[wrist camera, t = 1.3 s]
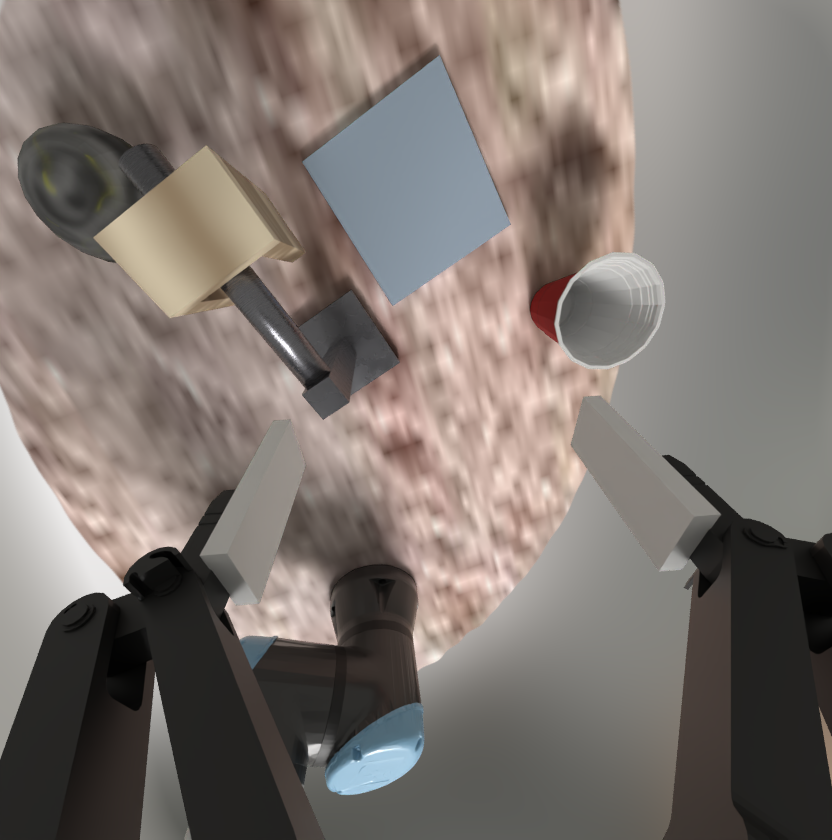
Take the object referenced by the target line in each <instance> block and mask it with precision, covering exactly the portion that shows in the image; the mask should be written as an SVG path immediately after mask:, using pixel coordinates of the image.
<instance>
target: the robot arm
mask: <svg viewBox="0 0 832 840" xmlns="http://www.w3.org/2000/svg"><path fill="white" fill-rule="evenodd" d="M571 446H572V448H573V449H574V450H575V452H576V453H577V455H578V456H579V458H580V459H581V460H582V462H583V463H584V465H585V466H586V468H587V469H588V470H589V472H590V473H591V475H592V476H593V478H594V479H595V481H596V482H597V483H598V485H599V486H600V488H601V489H602V491H603V492H604V493H605V495H606V496H607V498H608V499H609V501H610V502H611V503H612V505H613V506H614V508H615V509H616V511H617V512H618V513H619V515H620V516H621V518H622V519H623V521H624V522H625V524H626V525H627V526H628V528H629V529H630V531H631V532H632V533H633V535H634V536H635V538H636V539H637V541H638V542H639V544H640V545H641V547H642V548H643V549H644V551H645V552H646V554H647V555H648V556H649V558H650V559H651V561H652V562H653V564H654V565H655V566H656V568H657V569H658V571H668V570H669V571H670V570H682V569H683V567H684V566H685V564H686V563H687V562H688V560H689V559H691V560H692V562H693V563H694V564H695V565H696V567H697V569H696V571H695V572H694V573H693V575H692V576H691V578H690V579H689V580H688V581H687V583H686V585H685V587H684V588H685V589H689V588H690V587H691V585H693V587H692V598H691V609H690V620H689V621H690V622H689V631H688V642H687V653H686V664H685V676H684V686H683V697H682V707H681V719H680V729H679V740H678V750H677V761H676V773H675V783H674V794H673V805H672V814H671V820H670V824H669V828H668V830H667V832H666V834H665V836H664V838H663V840H832V786H831V779H830V773H829V766H828V761H827V755H826V748H825V742H824V736H823V730H822V724H821V718H820V712H819V707H820V710H821V712H822V715H823V717H824V719H825V722H826V724H827V726H828V729H829V731H830V733H831V736H832V533H830V534H825V535H824V536H823V537H822V538H821V539H820V540H819V541H818V542H817V543H813V542H807V541H801V540H796V539H790V538H785V537H784V536H783V535H782V534H781V533H780V532H778V531H777V530H775V529H774V528H772V527H771V526H769V525H766V524H764V523H761V522H760V521H756V520H752V519H743V518H742V517H741V516H740V515H739V514H738V513H736V511H735V510H734V509H732V508H731V507H730V506H729V505H728V504H727V503H726V502H725V501H724V500H723V499H722V498H721V497H719V496H718V495H717V494H716V493H715V492H714V491H713V490H712V489H711V488H710V487H709V486H708V485H705V482H704V481H702V480H701V479H700V478H699V477H696V474H695V473H694V472H693V471H692V470H690V468H688V467H687V466H686V465H685V464H684V463H682V462H681V461H679V460H677V459H675V458H674V457H672V456H670V455H664V456H663V455H662V456H661V455H660V454H659V453H658V452H657V451H656V450H655V449H654V448H653V447H652V446H651V445H650V444H649V443H648V442H647V441H646V440H645V439H644V438H643V437H642V436H641V435H640V434H639V433H638V432H637V431H636V430H635V429H634V428H633V427H632V426H631V425H630V424H629V423H628V422H627V421H626V420H625V419H624V418H623V417H622V416H620V414H619V413H618V412H617V411H615V409H613V408H612V407H611V406H610V405H609V404H608V403H607V402H606V401H605V400H604V399H603V398H602V397H601V396H588V397H583V400H582V404H581V408H580V411H579V415H578V419H577V423H576V426H575V430H574V434H573V438H572V441H571ZM305 467H306V464H305V461H304V458H303V455H302V452H301V449H300V446H299V443H298V440H297V437H296V434H295V431H294V428H293V425H292V422H291V419H289V420H276V421H273V422H272V424H271V426H270V428H269V430H268V431H267V433H266V435H265V437H264V439H263V441H262V442H261V444H260V446H259V448H258V450H257V452H256V453H255V455H254V457H253V459H252V461H251V462H250V464H249V466H248V468H247V470H246V472H245V473H244V475H243V477H242V479H241V481H240V483H239V484H238V486H237V488H236V490H226V491H223V492H222V493H221V494H220V495H219V496H217V497H216V498H215V499H214V500H213V501H212V502H211V504H210V506H209V507H208V509H207V511H206V512H205V516H203V517H202V519H201V521H200V522H199V526H197V527H196V529H195V531H194V532H193V534H192V536H191V537H190V539H189V540H188V542H187V544H186V545H185V547H184V549H183V550H182V552H181V553H180V552H179V551H178V550H177V549H176V548H173V547H163V548H158V549H156V550H154V551H151V552H149V553H147V554H146V555H144V556H143V557H141V558H140V559H138V560H137V561H136V562H135V563H134V564H133V565H132V566H131V567H130V568H129V570H128V572H127V573H126V575H125V577H124V583H123V586H125V587H126V588H127V589H128V590H129V591H130V592H131V593H130V594H127V595H125V596H122V597H119V598H116V599H113V600H111V599H110V598H109V597H108V596H106V595H105V594H104V593H93V594H89V595H86V596H83V597H81V598H80V599H78V600H76V601H74V602H72V603H71V604H70V605H68V606H67V607H66V608H65V609H63V610H62V611H61V612H60V613H59V614H58V615H57V616H56V617H55V618H54V620H53V621H52V622H51V624H50V626H49V627H48V629H47V631H46V633H45V637H44V639H43V642H42V645H41V648H40V650H39V653H38V656H37V659H36V661H35V664H34V667H33V670H32V673H31V675H30V678H29V681H28V684H27V687H26V689H25V692H24V695H23V698H22V701H21V703H20V706H19V709H18V712H17V714H16V718H15V720H14V723H13V725H12V728H11V731H10V734H9V737H8V739H7V742H6V745H5V748H4V751H3V753H2V756H1V759H0V840H140V830H141V819H142V808H143V796H144V787H145V776H146V765H147V754H148V743H149V732H150V721H151V711H152V710H151V709H152V699H153V689H154V678H155V672H156V677H157V682H158V686H159V691H160V695H161V700H162V705H163V709H164V714H165V719H166V723H167V728H168V733H169V737H170V742H171V746H172V751H173V756H174V761H175V765H176V770H177V774H178V779H179V784H180V788H181V793H182V798H183V802H184V807H185V811H186V816H187V821H188V829H187V832H186V835H185V839H184V840H325V838H324V835H323V833H322V831H321V828H320V826H319V824H318V821H317V819H316V817H315V815H314V812H313V810H312V807H311V805H310V803H309V800H308V798H307V796H306V794H305V791H304V789H303V787H304V781H305V774H306V769H307V767H325V768H326V769H325V778H326V782H327V786H328V788H329V789H330V790H331V791H332V792H337V793H338V794H343V795H352V794H359V793H364V792H368V791H371V790H375V789H377V788H380V787H382V786H385V785H387V784H389V783H391V782H393V781H394V780H396V779H398V778H400V777H401V776H402V775H404V774H405V773H406V772H408V771H409V770H410V769H411V768H412V767H413V766H414V765H415V763H416V762H417V761H418V759H419V757H420V756H421V753H422V750H423V746H424V729H423V728H424V727H423V706H422V704H421V697H420V690H419V682H418V674H417V666H416V658H415V651H414V643H413V630H414V624H415V619H416V612H417V608H418V594H417V588H416V584H415V582H414V580H413V579H412V578H411V577H410V576H409V575H408V574H407V573H406V572H404V571H402V570H400V569H398V568H395V567H392V566H386V565H372V566H366V567H362V568H359V569H356V570H354V571H352V572H350V573H348V574H347V575H345V576H344V577H343V578H341V579H340V580H339V582H338V583H337V584H336V585H335V587H334V589H333V591H332V595H331V604H330V614H331V618H332V622H333V626H334V630H335V634H336V638H337V643H338V646H335V645H329V644H321V643H313V642H306V641H298V640H290V639H283V638H278V636H273V637H263V636H246V637H244V638H242V639H240V640H239V638H238V636H237V634H236V631H235V629H234V627H233V624H232V622H231V620H230V617H229V615H228V613H227V611H226V610H225V609H224V608H225V606H226V604H227V601H228V599H229V596H230V598H231V599H232V600H233V602H234V603H235V604H236V605H247V604H259V603H260V601H261V598H262V595H263V592H264V589H265V586H266V583H267V580H268V577H269V574H270V571H271V568H272V565H273V562H274V559H275V556H276V553H277V550H278V547H279V544H280V541H281V538H282V535H283V532H284V529H285V527H286V524H287V521H288V518H289V515H290V512H291V509H292V506H293V503H294V500H295V497H296V494H297V491H298V488H299V485H300V482H301V479H302V476H303V473H304V470H305Z"/></svg>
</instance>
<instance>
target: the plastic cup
mask: <svg viewBox="0 0 832 840" xmlns="http://www.w3.org/2000/svg"><path fill="white" fill-rule="evenodd" d="M664 308H665V293H664V282H663V280H662V278H661V277H660V275H659V273H658V272H657V270H656V268H655V267H654V265H653V263H651V262H649V261H647V260H646V259H644V258H642V257H640V256H639V255H637V254H636V253H619V252H612V253H610V254H607V255H605V256H602V257H600V258H597V259H595V260H592V261H590V262H589V263H588V264H587V265H585V266H584V267H583V268H582V269H581V270H580V271H579V272H578V273H576V274H573V275H570V276H567V277H564V278H562V279H559V280H557V281H554V282H551V283H549V284H546V285H545V286H543V287H542V288H541V289H540V290H539V291H538V292H537V293H536V294H535V296H534V298H533V300H532V302H531V308H530V312H531V317H532V320H533V321H534V323H535V324H536V325H537V327H538V328H540V329H541V330H542V331H544V332H545V334H546V335H548V336H549V337H550V338H552V339H553V340H554V341H556V342H557V343H558V344H559V345H560V347H561V348H562V349H563V351H564V352H565V353H566V355H567V356H568V357H569V358H570V360H571V361H573V362H575V363H577V364H579V365H581V366H583V367H585V368H587V369H610V368H612V367H615V366H617V365H620V364H623V363H625V362H628V361H629V360H630V359H632V358H633V357H634V356H635V355H637V354H638V353H639V352H640V351H641V350H643V349H644V348H645V347H646V346H647V345H648V343H649V342H650V340H651V339H652V337H653V335H654V334H655V332H656V331H657V329H658V328H659V326H660V322H661V319H662V315H663V311H664Z"/></svg>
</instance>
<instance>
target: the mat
mask: <svg viewBox="0 0 832 840" xmlns="http://www.w3.org/2000/svg"><path fill="white" fill-rule="evenodd" d="M302 162H303V164H304V166H305V167H306V169H307V171H308V172H309V174H310V175H311V177H312V178H313V180H314V182H315V183H316V185H317V186H318V188H319V190H320V191H321V193H322V194H323V196H324V198H325V199H326V201H327V202H328V204H329V206H330V207H331V209H332V210H333V212H334V213H335V215H336V217H337V218H338V220H339V221H340V223H341V225H342V226H343V228H344V229H345V231H346V233H347V234H348V236H349V237H350V239H351V240H352V242H353V244H354V245H355V247H356V248H357V250H358V252H359V253H360V255H361V256H362V258H363V260H364V261H365V263H366V264H367V266H368V267H369V269H370V271H371V272H372V274H373V275H374V277H375V279H376V280H377V282H378V283H379V285H380V287H381V288H382V290H383V291H384V293H385V295H386V296H387V298H388V299H389V301H390V302H391V304H392V306H393V305H395V304H396V303H398V302H399V301H401V300H402V299H404V298H405V297H406V296H408V295H409V294H411V293H412V292H414V291H415V290H417V289H418V288H419V287H421V286H422V285H424V284H425V283H427V282H428V281H430V280H431V279H432V278H434V277H435V276H437V275H438V274H440V273H441V272H443V271H444V270H446V269H447V268H448V267H450V266H451V265H453V264H454V263H456V262H457V261H459V260H460V259H461V258H463V257H464V256H466V255H467V254H469V253H470V252H472V251H473V250H475V249H476V248H477V247H479V246H480V245H482V244H483V243H485V242H486V241H488V240H489V239H490V238H492V237H493V236H495V235H496V234H498V233H499V232H501V231H502V230H503V229H505V228H506V227H508V226H509V225H511V224H510V222H509V219H508V217H507V214H506V212H505V210H504V207H503V205H502V202H501V200H500V198H499V195H498V193H497V191H496V188H495V186H494V183H493V181H492V179H491V176H490V174H489V172H488V169H487V167H486V164H485V162H484V160H483V157H482V155H481V153H480V150H479V148H478V145H477V143H476V141H475V138H474V136H473V133H472V131H471V129H470V126H469V124H468V122H467V119H466V117H465V114H464V112H463V110H462V107H461V105H460V103H459V100H458V98H457V95H456V93H455V91H454V88H453V86H452V83H451V81H450V79H449V76H448V74H447V72H446V69H445V67H444V64H443V62H442V60H441V57H440V55H439V56H438V57H436V58H435V59H434V60H433V61H431V62H430V63H429V64H427V65H426V66H425V67H424V68H422V69H421V70H420V71H418V72H417V73H416V74H415V75H413V76H412V77H411V78H409V79H408V80H407V81H406V82H404V83H403V84H402V85H400V86H399V87H398V88H396V89H395V90H394V91H393V92H391V93H390V94H389V95H387V96H386V97H385V98H384V99H382V100H381V101H380V102H378V103H377V104H376V105H375V106H373V107H372V108H371V109H369V110H368V111H367V112H366V113H364V114H363V115H362V116H360V117H359V118H358V119H357V120H355V121H354V122H353V123H351V124H350V125H349V126H348V127H346V128H345V129H344V130H342V131H341V132H340V133H339V134H337V135H336V136H335V137H333V138H332V139H331V140H330V141H328V142H327V143H326V144H324V145H323V146H322V147H321V148H319V149H318V150H317V151H315V152H314V153H313V154H311V155H310V156H309V157H308V158H306V159H305V160H304V161H302Z"/></svg>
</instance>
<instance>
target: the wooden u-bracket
mask: <svg viewBox="0 0 832 840" xmlns="http://www.w3.org/2000/svg"><path fill="white" fill-rule="evenodd" d="M93 238H94V239H95V240H96V241H97V242H98V243H99V244H100V246H101V247H102V248H103V249H104V250H105V251H106V252H107V253H108V254H109V255H110V256H111V257H112V258H113V259H114V260H115V261H116V262H117V263H118V264H119V266H120V267H121V268H122V269H123V270H124V271H125V272H126V273H127V274H128V275H129V276H130V277H131V278H132V279H133V280H134V281H135V282H136V283H137V284H138V285H139V287H140V288H141V289H142V290H143V291H144V292H145V293H146V294H147V295H148V296H149V297H150V298H151V299H152V300H153V301H154V302H155V303H156V304H157V305H158V307H159V308H160V309H161V310H162V311H163V312H164V313H165V314H166V315H167V316H168V317H169V318H173V317H178V316H183V315H188V314H193V313H198V312H203V311H208V310H213V309H218V308H223V307H228V306H233V305H235V304H234V303H233V302H232V301H231V300H230V298H229V297H228V296H227V295H226V294H225V293H224V291H223V290H222V289H221V288H220V287H221V286H223V285H224V284H225V283H227V282H228V281H229V280H231V279H232V278H233V277H235V276H236V275H237V274H239V273H240V272H241V271H243V270H244V269H245V268H247V267H248V266H249V265H251V264H252V263H253V262H255V261H256V260H257V259H259V258H260V257H261V256H263V257H268V258H273V259H278V260H283V261H287V262H294V261H295V260H296V259H298V258H299V257H301V256H302V255H303V254H305V253H306V252H305V250H304V249H303V247H302V246H301V244H300V243H299V242H298V240H297V239H296V237H295V236H294V234H293V233H292V231H291V230H290V229H289V227H288V226H287V224H286V223H285V221H284V220H283V219H282V217H281V216H280V214H279V213H278V211H277V210H276V208H275V207H274V206H273V204H272V203H271V201H270V200H269V198H268V197H267V196H266V194H265V193H264V192H263V191H261V190H260V189H259V188H258V187H257V186H255V185H254V184H253V183H252V182H251V181H249V180H248V179H247V178H246V177H244V176H243V175H242V174H241V173H240V172H238V171H237V170H236V169H235V168H233V167H232V166H231V165H230V164H229V163H227V162H226V161H225V160H224V159H223V158H221V157H220V156H219V155H218V154H216V153H215V152H214V151H213V150H212V149H210V148H209V147H208V146H207V145H206V146H205V147H204V148H202V149H201V150H200V151H199V152H197V153H196V154H195V155H194V156H192V157H191V158H190V159H189V160H188V161H186V162H185V163H184V164H183V165H181V166H180V167H179V168H178V169H177V170H175V171H174V172H173V173H172V174H170V175H169V176H168V177H167V178H166V179H164V180H163V181H162V182H161V183H159V184H158V185H157V186H156V187H155V188H153V189H152V190H151V191H150V192H148V193H147V194H146V195H145V196H143V197H142V198H141V199H140V200H139V201H137V202H136V203H135V204H134V205H132V206H131V207H130V208H129V209H128V210H126V211H125V212H124V213H123V214H121V215H120V216H119V217H118V218H117V219H115V220H114V221H113V222H112V223H110V224H109V225H108V226H107V227H105V228H104V229H103V230H102V231H101V232H99V233H98V234H97V235H96V236H94V237H93Z"/></svg>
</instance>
